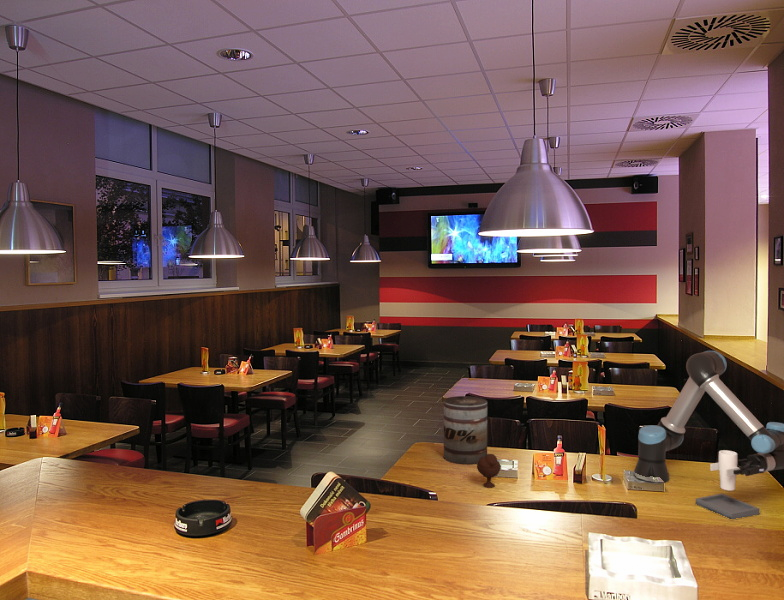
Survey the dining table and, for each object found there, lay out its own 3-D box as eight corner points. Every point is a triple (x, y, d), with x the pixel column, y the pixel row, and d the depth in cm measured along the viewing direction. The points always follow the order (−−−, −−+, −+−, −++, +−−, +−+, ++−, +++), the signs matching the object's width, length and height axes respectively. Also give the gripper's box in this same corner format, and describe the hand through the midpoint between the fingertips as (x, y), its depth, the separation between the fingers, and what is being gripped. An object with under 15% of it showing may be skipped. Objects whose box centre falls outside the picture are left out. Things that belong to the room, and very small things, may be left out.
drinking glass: (739, 492, 240) (740, 455, 240) (721, 491, 242) (721, 454, 241) (733, 486, 247) (734, 450, 246) (715, 485, 248) (716, 449, 248)
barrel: (434, 456, 316) (434, 400, 314) (465, 448, 329) (465, 394, 328) (464, 467, 298) (464, 407, 296) (496, 458, 311) (496, 401, 310)
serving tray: (695, 504, 250) (695, 498, 250) (722, 499, 255) (722, 493, 255) (731, 520, 234) (731, 514, 234) (759, 514, 240) (759, 508, 239)
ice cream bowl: (502, 482, 276) (502, 450, 276) (498, 491, 266) (498, 458, 265) (479, 480, 280) (479, 448, 279) (474, 488, 269) (474, 455, 269)
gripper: (781, 479, 241) (740, 487, 233) (738, 464, 259) (698, 471, 251) (782, 460, 241) (740, 468, 233) (739, 447, 259) (698, 454, 251)
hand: (718, 470), depth 242 cm, fingers closed on drinking glass, 6 cm apart
